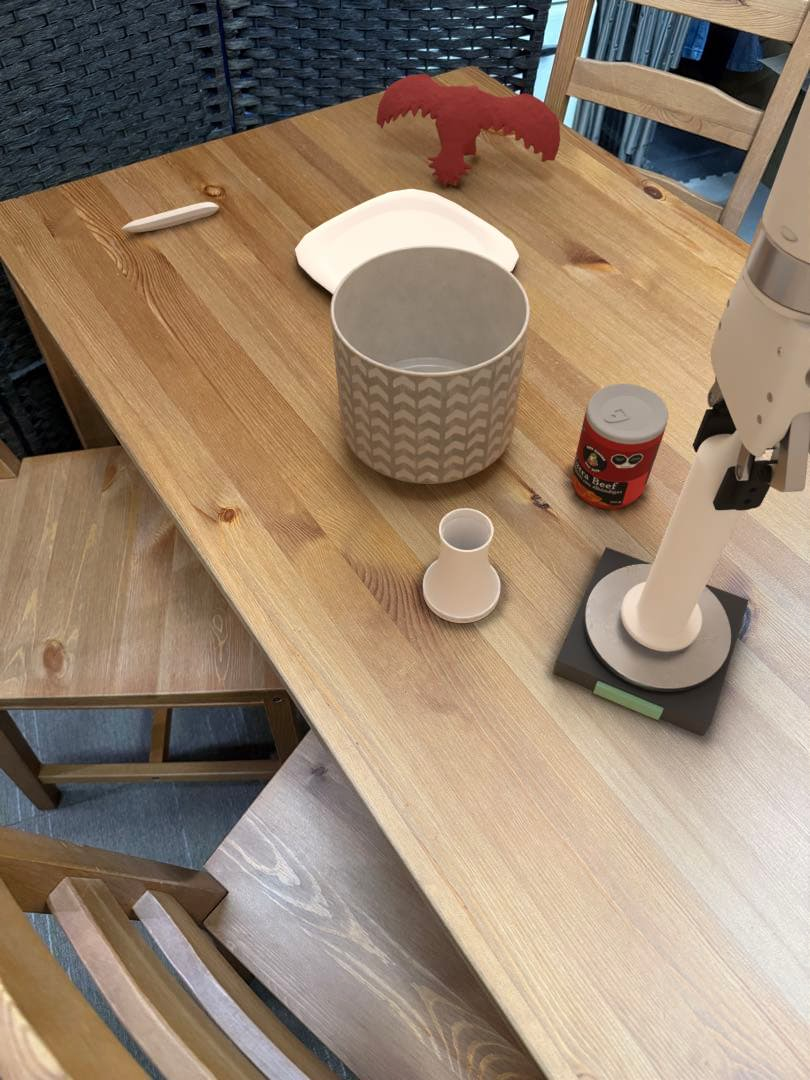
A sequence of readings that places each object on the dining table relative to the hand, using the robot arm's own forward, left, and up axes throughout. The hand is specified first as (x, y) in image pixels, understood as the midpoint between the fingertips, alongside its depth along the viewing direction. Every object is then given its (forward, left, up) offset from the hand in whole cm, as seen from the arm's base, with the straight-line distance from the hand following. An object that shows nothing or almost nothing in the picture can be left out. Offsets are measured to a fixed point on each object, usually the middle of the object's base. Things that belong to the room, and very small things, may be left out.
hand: (725, 475), depth 61 cm
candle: (0, 0, -20) cm, 20 cm away
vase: (+17, -7, -24) cm, 31 cm away
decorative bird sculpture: (+10, -82, -24) cm, 86 cm away
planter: (+19, -28, -24) cm, 41 cm away
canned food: (0, -19, -24) cm, 31 cm away
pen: (+51, -71, -24) cm, 91 cm away
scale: (0, 0, -24) cm, 24 cm away
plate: (+19, -59, -24) cm, 67 cm away
